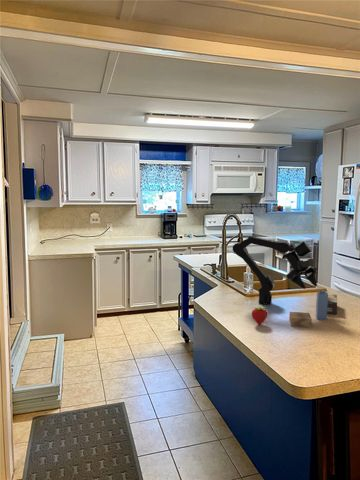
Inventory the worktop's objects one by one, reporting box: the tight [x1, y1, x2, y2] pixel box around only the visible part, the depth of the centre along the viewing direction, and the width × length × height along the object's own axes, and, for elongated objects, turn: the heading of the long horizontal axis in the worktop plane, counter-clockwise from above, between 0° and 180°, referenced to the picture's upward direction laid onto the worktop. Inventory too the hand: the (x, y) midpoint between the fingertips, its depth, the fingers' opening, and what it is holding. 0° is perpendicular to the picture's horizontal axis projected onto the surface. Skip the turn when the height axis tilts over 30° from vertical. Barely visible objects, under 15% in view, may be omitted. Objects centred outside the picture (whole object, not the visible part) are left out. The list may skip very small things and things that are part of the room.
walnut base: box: [289, 311, 312, 328], centre depth 174 cm, size 9×9×4 cm
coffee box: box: [327, 293, 338, 315], centre depth 195 cm, size 9×6×16 cm
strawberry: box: [251, 306, 268, 326], centre depth 171 cm, size 6×8×10 cm
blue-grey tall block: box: [315, 289, 329, 321], centre depth 180 cm, size 4×4×14 cm
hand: (310, 287), depth 187 cm, fingers open, 9 cm apart
